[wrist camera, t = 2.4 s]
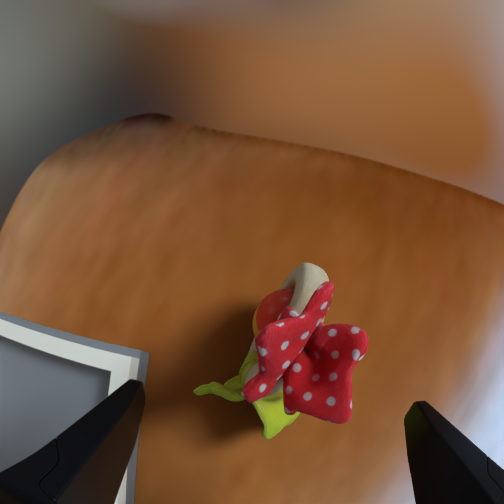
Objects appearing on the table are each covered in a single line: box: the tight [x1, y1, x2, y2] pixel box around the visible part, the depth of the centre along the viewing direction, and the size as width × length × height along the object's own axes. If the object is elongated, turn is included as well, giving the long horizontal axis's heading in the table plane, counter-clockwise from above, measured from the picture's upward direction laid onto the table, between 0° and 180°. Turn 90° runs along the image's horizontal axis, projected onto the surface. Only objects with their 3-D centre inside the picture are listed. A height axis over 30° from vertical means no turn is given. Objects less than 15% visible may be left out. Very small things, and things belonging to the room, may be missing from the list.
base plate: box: [0, 312, 150, 504], centre depth 12 cm, size 22×12×4 cm, turn 174°
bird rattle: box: [194, 263, 369, 439], centre depth 15 cm, size 6×11×9 cm
